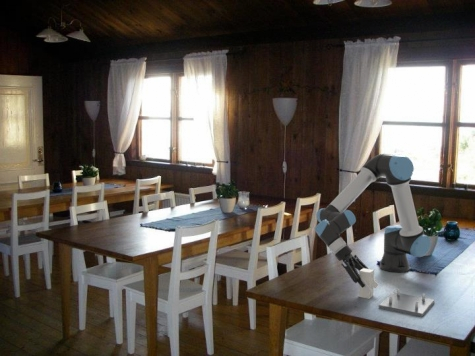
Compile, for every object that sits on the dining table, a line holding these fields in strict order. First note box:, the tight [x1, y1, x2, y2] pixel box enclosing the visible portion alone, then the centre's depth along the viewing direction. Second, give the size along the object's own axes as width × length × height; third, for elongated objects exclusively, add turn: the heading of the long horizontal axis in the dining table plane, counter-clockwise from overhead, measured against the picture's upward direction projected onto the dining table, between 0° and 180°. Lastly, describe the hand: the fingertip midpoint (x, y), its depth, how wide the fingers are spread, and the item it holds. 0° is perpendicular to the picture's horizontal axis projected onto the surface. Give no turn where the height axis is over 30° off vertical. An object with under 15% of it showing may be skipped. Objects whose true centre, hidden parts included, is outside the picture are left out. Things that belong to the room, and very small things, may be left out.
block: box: [358, 268, 375, 300], centre depth 243 cm, size 5×5×12 cm
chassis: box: [378, 288, 435, 318], centre depth 232 cm, size 20×18×4 cm
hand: (373, 289), depth 242 cm, fingers open, 9 cm apart
